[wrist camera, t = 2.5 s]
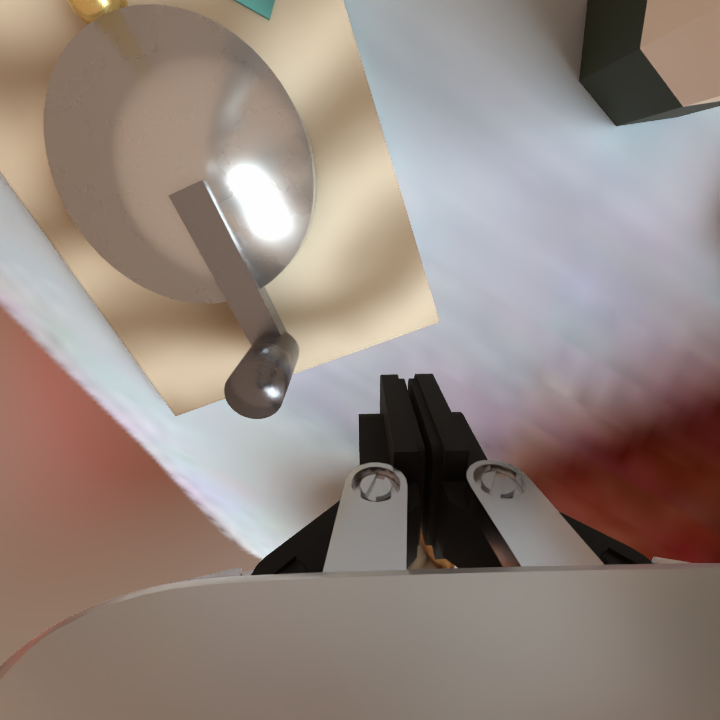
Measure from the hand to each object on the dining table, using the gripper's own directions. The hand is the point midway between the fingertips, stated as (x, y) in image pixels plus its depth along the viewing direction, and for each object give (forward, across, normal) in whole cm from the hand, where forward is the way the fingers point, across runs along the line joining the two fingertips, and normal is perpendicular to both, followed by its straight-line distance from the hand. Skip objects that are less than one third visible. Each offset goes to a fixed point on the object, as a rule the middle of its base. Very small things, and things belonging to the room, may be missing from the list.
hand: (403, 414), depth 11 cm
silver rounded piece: (+11, +9, -7) cm, 15 cm away
